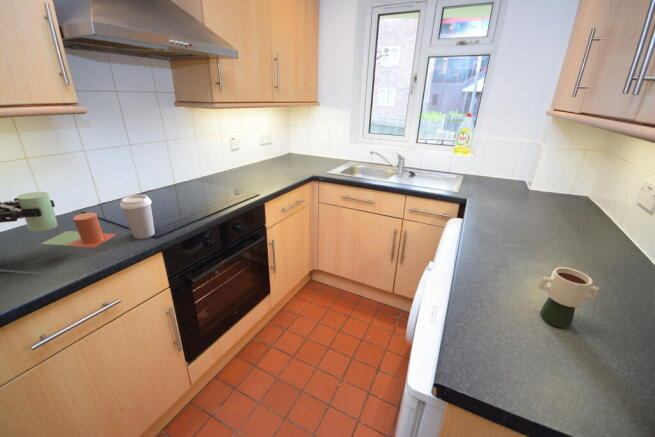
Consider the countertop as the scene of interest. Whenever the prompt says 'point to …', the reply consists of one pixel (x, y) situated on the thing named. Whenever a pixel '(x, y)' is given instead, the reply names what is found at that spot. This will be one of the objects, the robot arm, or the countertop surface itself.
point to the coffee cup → (139, 215)
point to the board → (74, 239)
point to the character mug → (565, 295)
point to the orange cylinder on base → (88, 228)
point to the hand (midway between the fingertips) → (47, 207)
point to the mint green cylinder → (43, 203)
